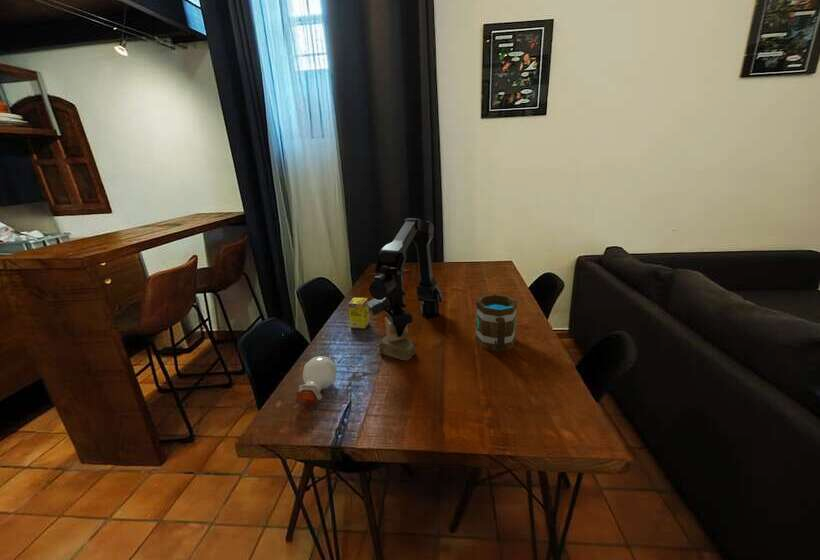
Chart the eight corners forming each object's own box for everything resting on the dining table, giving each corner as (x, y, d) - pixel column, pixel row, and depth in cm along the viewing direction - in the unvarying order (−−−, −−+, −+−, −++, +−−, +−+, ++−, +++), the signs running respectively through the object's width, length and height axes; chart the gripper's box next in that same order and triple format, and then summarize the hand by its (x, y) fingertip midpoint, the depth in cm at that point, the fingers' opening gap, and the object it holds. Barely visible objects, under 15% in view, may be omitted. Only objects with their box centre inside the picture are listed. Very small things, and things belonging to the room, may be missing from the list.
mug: (473, 331, 126) (474, 293, 121) (511, 332, 124) (513, 293, 119) (478, 362, 107) (479, 318, 102) (522, 362, 106) (526, 318, 101)
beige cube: (403, 329, 116) (402, 313, 114) (408, 338, 111) (407, 321, 109) (386, 333, 115) (384, 316, 113) (390, 341, 109) (389, 324, 107)
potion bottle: (333, 378, 105) (315, 418, 92) (304, 363, 104) (282, 401, 90) (346, 359, 101) (330, 398, 88) (317, 343, 100) (296, 380, 86)
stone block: (388, 346, 119) (387, 333, 118) (417, 354, 114) (416, 340, 112) (378, 354, 115) (377, 341, 113) (408, 362, 109) (407, 349, 108)
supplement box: (365, 330, 131) (362, 303, 128) (350, 329, 132) (347, 303, 129) (370, 323, 137) (367, 297, 133) (356, 322, 138) (353, 297, 134)
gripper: (363, 282, 114) (367, 324, 119) (374, 302, 97) (378, 351, 102) (396, 277, 117) (398, 319, 122) (412, 296, 100) (414, 344, 105)
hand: (397, 332), depth 113 cm, fingers closed on beige cube, 6 cm apart
